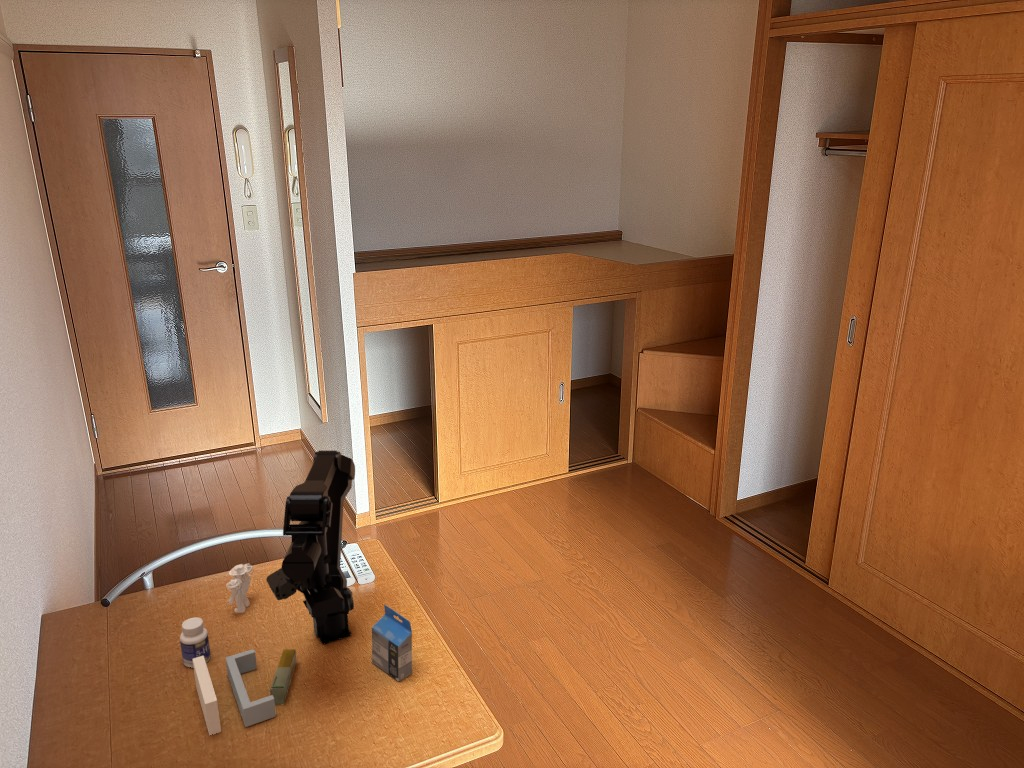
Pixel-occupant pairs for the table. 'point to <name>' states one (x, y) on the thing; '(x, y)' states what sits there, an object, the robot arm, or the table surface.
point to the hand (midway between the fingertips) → (317, 620)
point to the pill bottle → (194, 641)
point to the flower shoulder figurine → (240, 586)
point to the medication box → (283, 676)
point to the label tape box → (392, 645)
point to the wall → (206, 695)
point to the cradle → (248, 710)
